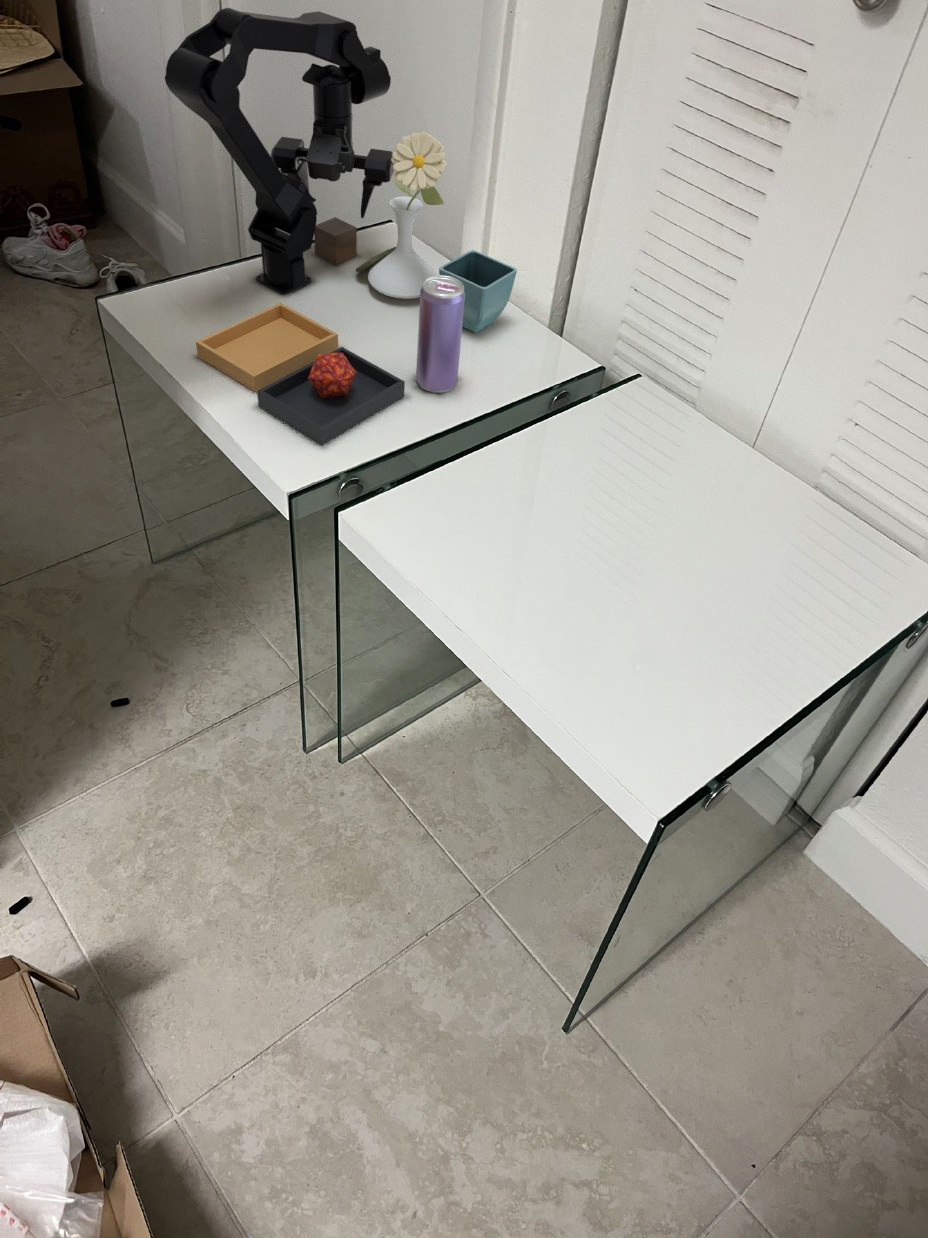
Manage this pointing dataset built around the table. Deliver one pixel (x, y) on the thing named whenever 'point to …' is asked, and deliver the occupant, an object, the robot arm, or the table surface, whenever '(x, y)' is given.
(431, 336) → the beverage can
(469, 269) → the flower pot
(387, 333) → the table surface
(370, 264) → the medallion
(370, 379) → the stone tray
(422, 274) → the flower in vase
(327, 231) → the walnut block
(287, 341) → the wood tray
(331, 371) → the decorative stone
